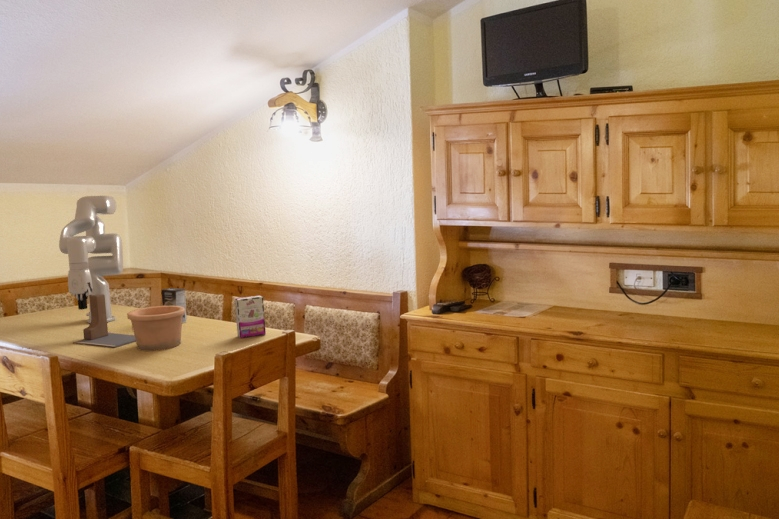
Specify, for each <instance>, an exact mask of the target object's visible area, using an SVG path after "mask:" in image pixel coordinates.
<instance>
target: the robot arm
mask: <svg viewBox="0 0 779 519" xmlns="http://www.w3.org/2000/svg"><path fill="white" fill-rule="evenodd" d="M116 210H117V202H116V200H115V198H114V197H112V196H109V195H86V196H81V197H80V198H79V199H78V200H77V201H76V209H75V215H74V219H72V220H71V221H70V222H68V223H67V224H66V225H64V227H63V228H62V230H61V232H60V234H59V240H58V247H59V251H60V252H61V253H62V254H64V255H68V256H67V258H68V267H69V270H68V273H67V274H68V275H67V288H68V292H69V294H71V295H72V296H74V297H75V299H76V300H77V306H78V308H77V309H78V310H80V311H81V310H82V311H83V310H87V309H89V312H88V313H86V314H85V316H86V317H88V319H86V322H87V323H88V324H90V323H91V310H90V299H89V296H91V295H96V294H102V295H105V305H106V316H107V323H109V322H112V321H115V320H116V316H114V315H112V305H111V294H110V293H111V292H110V284H109V282H108V281H107V279H105V277H104V276H117V275H121V274H122V273H123V272H124V270H123V269H124V254H123V242H122V237H121V236H120V234H118V233H106V230H105V228H106V226H105V223H104V221H103V220H102V219H101V218H100V217H99V215H100V216H101V215H103V216H104V215H114V214H115V213H116ZM84 232H85V235H82V236H81V235H79V234H82V233H84ZM76 235H77V236H76ZM89 254H93V255H95V254H96V255H97V254H99V255H97V256H96V255H95V256H89ZM100 254H101V255H100ZM102 254H111V255H102ZM88 304H89V305H88ZM88 307H89V308H88Z"/></svg>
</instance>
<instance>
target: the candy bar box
mask: <svg viewBox="0 0 779 519" xmlns="http://www.w3.org/2000/svg"><path fill="white" fill-rule="evenodd" d="M264 306H265V305H264V296H263V295H254V296H253V295H252V296H245V297H237V298H234V307H235V309H234V310H235V318H236V319H235V320H236V321H235V323H236V332H237V333H236V334H237V337H238V338H239V339H244V338H250V337H251V338H252V337H258V336H259V337H260V336H264V335H266V320H265V307H264Z"/></svg>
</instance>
